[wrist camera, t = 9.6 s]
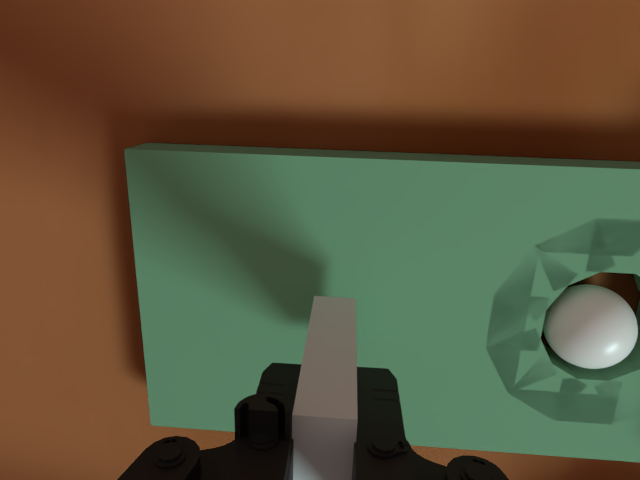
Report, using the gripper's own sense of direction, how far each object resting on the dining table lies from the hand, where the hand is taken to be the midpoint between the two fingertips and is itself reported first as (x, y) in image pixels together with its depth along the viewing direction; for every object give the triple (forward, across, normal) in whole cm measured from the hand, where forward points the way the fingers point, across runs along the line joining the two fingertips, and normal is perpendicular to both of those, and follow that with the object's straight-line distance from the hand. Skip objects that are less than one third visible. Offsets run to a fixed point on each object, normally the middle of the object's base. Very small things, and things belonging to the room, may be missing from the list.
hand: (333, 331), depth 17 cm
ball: (+2, -10, 0) cm, 10 cm away
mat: (+3, -4, 0) cm, 5 cm away
